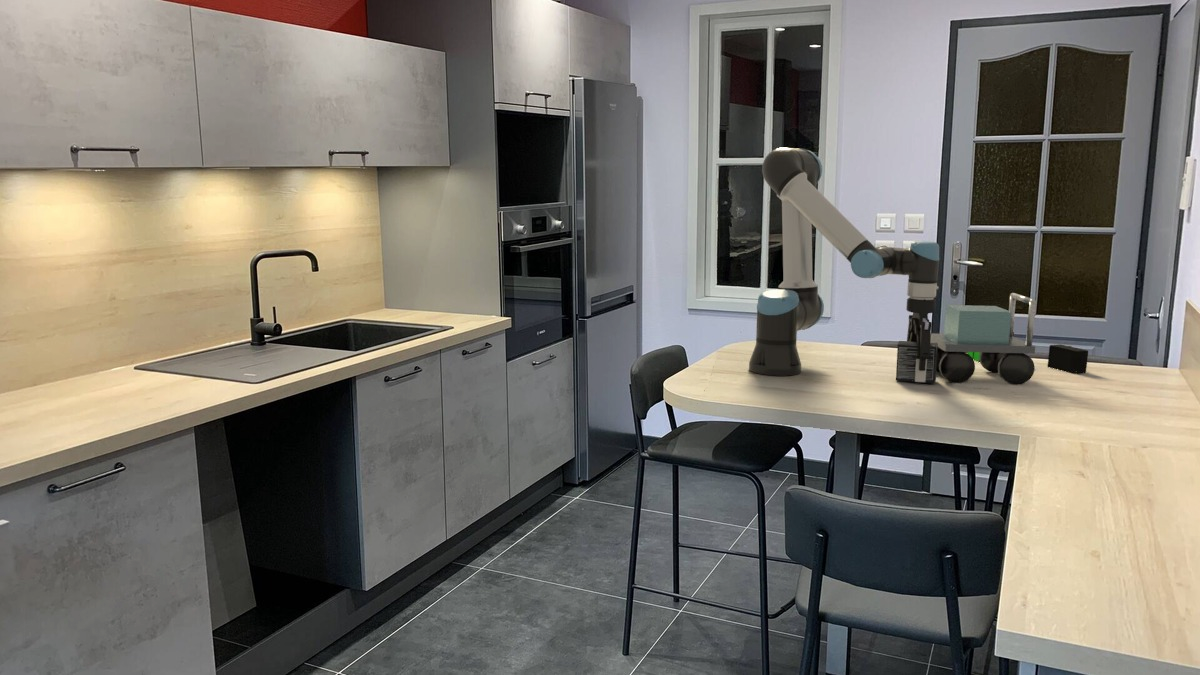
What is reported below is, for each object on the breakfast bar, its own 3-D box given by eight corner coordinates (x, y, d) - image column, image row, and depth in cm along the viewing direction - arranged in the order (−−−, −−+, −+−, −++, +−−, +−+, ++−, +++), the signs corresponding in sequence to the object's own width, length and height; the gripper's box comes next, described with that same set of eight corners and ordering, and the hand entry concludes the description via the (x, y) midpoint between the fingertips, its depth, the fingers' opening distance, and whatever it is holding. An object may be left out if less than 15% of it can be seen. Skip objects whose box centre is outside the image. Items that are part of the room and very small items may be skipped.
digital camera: (1089, 373, 261) (1092, 350, 260) (1075, 374, 259) (1077, 351, 258) (1061, 366, 271) (1063, 343, 270) (1047, 367, 269) (1049, 344, 268)
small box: (936, 378, 249) (938, 342, 247) (935, 383, 243) (937, 346, 241) (897, 375, 253) (899, 339, 251) (895, 380, 247) (897, 344, 245)
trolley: (940, 383, 246) (947, 298, 242) (922, 369, 264) (928, 290, 259) (1033, 385, 244) (1041, 300, 240) (1008, 371, 262) (1016, 292, 258)
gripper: (947, 303, 233) (940, 387, 237) (924, 293, 254) (919, 371, 257) (918, 302, 234) (912, 386, 238) (898, 292, 254) (892, 370, 258)
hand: (915, 378), depth 248 cm, fingers closed on small box, 8 cm apart
